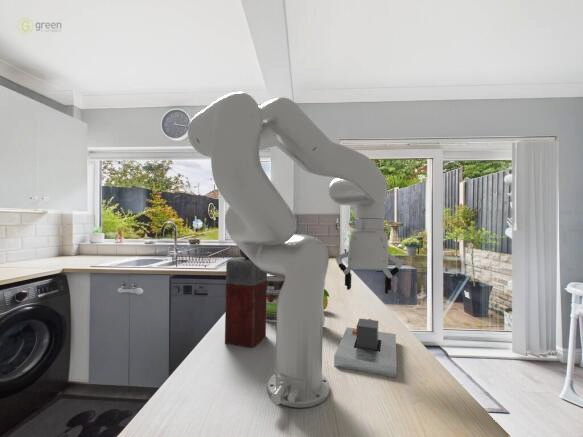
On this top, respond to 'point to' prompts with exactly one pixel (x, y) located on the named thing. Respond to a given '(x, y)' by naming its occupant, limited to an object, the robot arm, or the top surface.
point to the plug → (367, 334)
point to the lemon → (325, 299)
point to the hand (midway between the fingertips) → (367, 290)
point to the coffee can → (273, 297)
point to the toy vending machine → (245, 302)
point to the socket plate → (367, 354)
